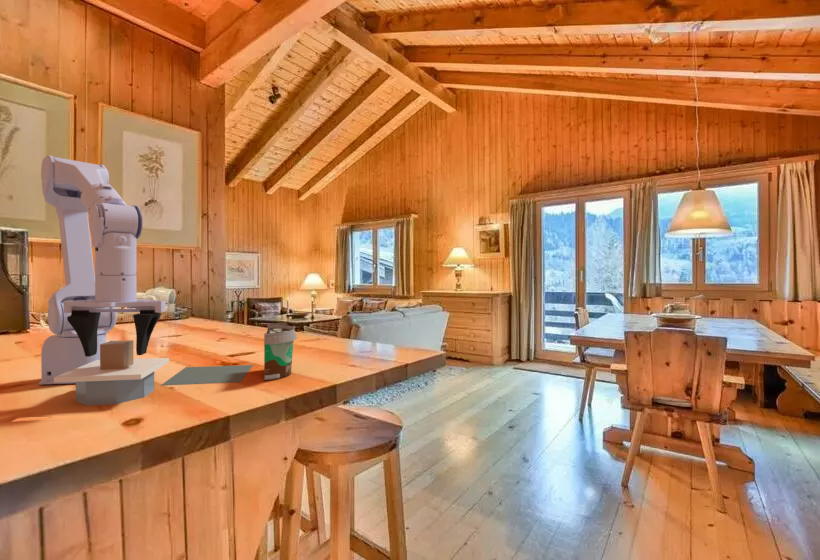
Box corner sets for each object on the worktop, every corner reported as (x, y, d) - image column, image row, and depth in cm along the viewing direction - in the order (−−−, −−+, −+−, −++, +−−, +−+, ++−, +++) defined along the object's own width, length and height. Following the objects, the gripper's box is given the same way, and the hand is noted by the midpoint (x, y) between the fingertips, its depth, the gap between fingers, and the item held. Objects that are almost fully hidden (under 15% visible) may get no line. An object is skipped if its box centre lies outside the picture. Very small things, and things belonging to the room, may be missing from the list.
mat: (160, 387, 75) (160, 385, 75) (185, 369, 89) (185, 367, 89) (240, 384, 78) (240, 381, 78) (253, 367, 92) (253, 364, 92)
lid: (53, 382, 62) (53, 350, 62) (96, 364, 74) (96, 337, 74) (141, 379, 64) (140, 348, 64) (169, 362, 76) (169, 335, 76)
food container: (297, 383, 79) (297, 332, 79) (263, 385, 77) (264, 333, 77) (296, 368, 91) (296, 324, 91) (267, 370, 89) (267, 325, 89)
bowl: (64, 409, 63) (64, 380, 63) (99, 390, 73) (99, 365, 73) (136, 405, 65) (136, 378, 65) (160, 387, 75) (160, 363, 75)
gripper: (50, 274, 63) (51, 361, 63) (154, 276, 66) (154, 358, 66) (77, 274, 70) (78, 352, 70) (170, 275, 73) (170, 349, 73)
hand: (116, 354), depth 69 cm, fingers open, 7 cm apart
